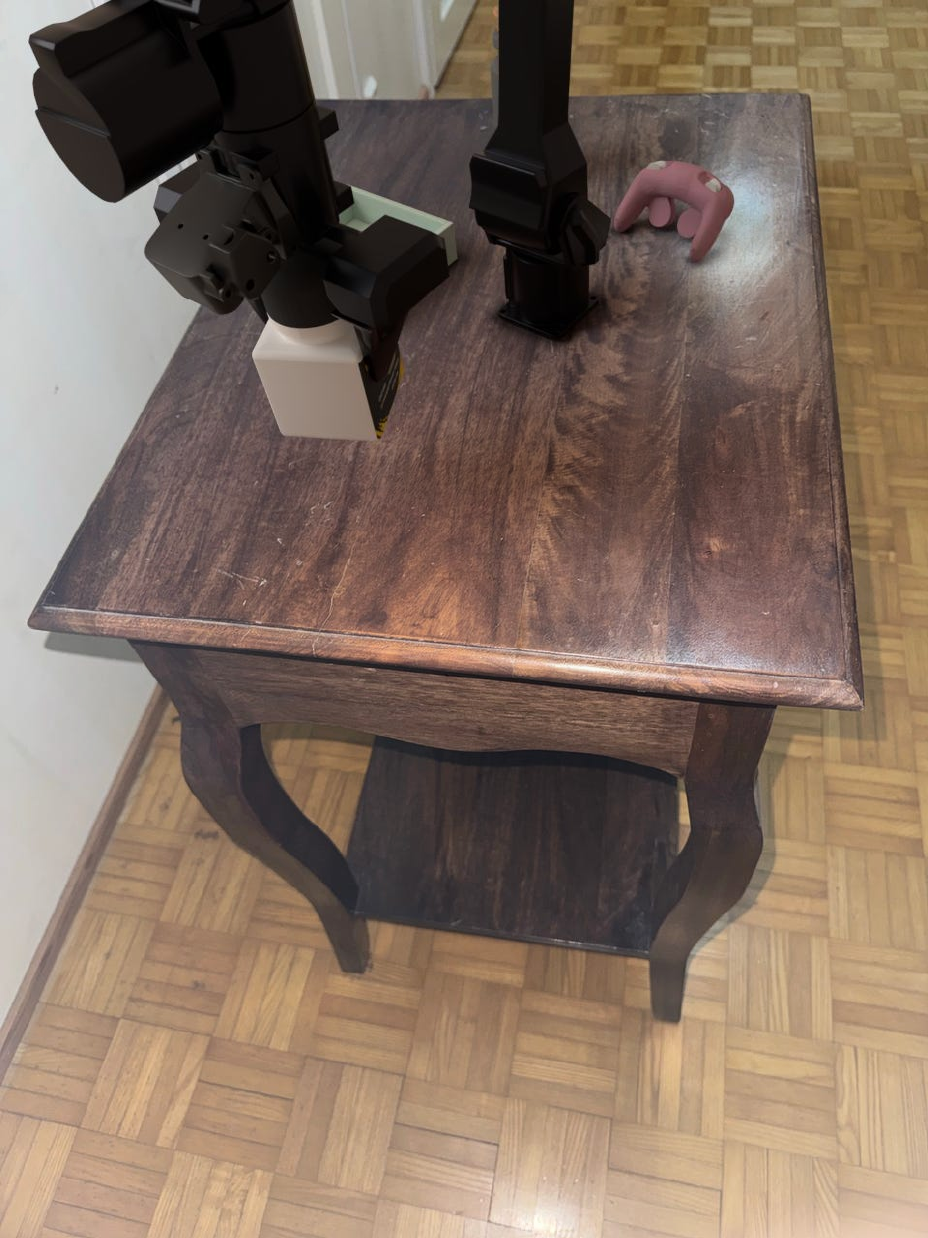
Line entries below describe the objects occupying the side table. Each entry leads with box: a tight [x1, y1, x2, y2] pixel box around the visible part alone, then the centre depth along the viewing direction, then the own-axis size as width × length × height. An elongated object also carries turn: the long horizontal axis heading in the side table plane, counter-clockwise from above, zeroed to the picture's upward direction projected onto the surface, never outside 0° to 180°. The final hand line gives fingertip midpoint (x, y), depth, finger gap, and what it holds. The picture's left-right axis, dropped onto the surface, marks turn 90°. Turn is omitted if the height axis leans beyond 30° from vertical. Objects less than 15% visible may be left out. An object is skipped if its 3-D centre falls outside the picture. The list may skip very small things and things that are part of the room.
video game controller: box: [613, 160, 735, 263], centre depth 81 cm, size 10×5×7 cm, turn 47°
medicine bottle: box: [251, 251, 405, 443], centre depth 58 cm, size 7×7×12 cm
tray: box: [339, 184, 458, 267], centre depth 83 cm, size 13×13×4 cm
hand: (327, 353), depth 59 cm, fingers closed on medicine bottle, 9 cm apart
